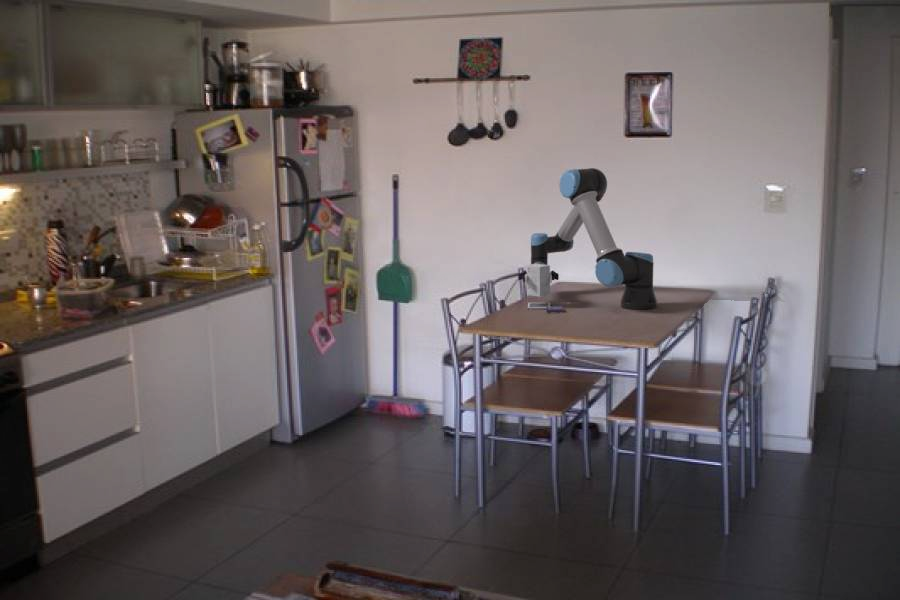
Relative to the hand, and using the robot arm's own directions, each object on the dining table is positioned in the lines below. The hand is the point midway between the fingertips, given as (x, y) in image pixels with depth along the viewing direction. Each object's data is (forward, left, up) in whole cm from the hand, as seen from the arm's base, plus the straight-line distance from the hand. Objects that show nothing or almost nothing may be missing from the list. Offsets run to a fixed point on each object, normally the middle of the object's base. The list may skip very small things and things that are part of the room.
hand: (538, 279), depth 413 cm
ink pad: (-7, +5, -12) cm, 15 cm away
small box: (0, -5, -8) cm, 9 cm away
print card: (0, -4, -12) cm, 13 cm away
